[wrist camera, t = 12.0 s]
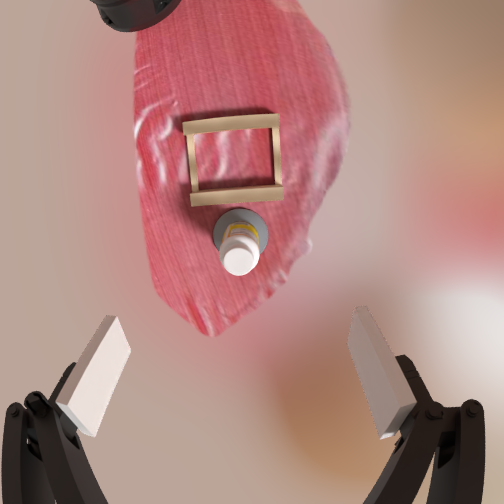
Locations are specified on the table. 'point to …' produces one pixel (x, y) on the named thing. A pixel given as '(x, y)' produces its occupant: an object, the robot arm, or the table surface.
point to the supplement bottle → (239, 248)
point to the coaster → (241, 216)
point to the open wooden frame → (234, 193)
